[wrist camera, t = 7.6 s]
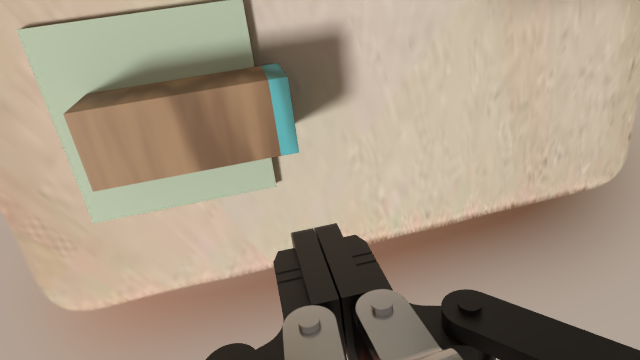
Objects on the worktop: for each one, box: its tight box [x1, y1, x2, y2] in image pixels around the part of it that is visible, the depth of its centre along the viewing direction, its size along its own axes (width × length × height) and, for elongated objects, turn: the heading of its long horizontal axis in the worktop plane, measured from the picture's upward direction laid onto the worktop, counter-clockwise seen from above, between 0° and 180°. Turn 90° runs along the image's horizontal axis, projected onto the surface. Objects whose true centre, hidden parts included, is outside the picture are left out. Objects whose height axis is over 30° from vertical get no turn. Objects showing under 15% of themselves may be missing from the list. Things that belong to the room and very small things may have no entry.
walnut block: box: [63, 63, 299, 192], centre depth 29 cm, size 5×5×13 cm
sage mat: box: [17, 0, 276, 223], centre depth 31 cm, size 14×14×1 cm
